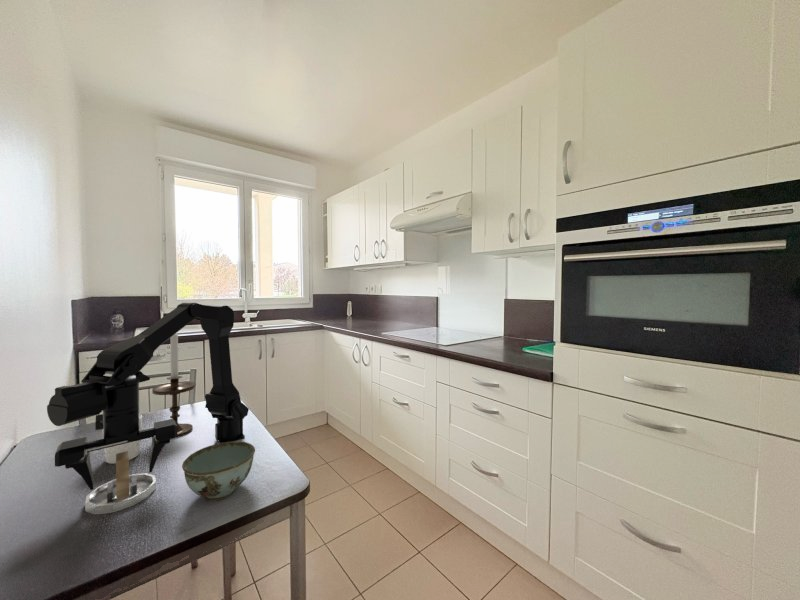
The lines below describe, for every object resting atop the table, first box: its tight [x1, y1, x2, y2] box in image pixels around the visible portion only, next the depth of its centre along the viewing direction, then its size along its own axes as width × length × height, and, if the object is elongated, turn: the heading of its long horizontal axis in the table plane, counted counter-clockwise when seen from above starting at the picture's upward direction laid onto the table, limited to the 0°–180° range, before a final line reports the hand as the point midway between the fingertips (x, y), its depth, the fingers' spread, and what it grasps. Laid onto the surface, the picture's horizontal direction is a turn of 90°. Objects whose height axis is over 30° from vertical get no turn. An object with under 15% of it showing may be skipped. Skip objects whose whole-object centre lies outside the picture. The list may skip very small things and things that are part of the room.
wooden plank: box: [115, 451, 130, 500], centre depth 66 cm, size 2×4×8 cm, turn 42°
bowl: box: [181, 440, 256, 502], centre depth 68 cm, size 14×13×8 cm
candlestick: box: [151, 333, 197, 439], centre depth 97 cm, size 11×11×35 cm
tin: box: [84, 472, 157, 515], centre depth 66 cm, size 11×11×2 cm
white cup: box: [102, 413, 143, 465], centre depth 82 cm, size 8×8×10 cm
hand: (122, 479), depth 66 cm, fingers open, 9 cm apart
